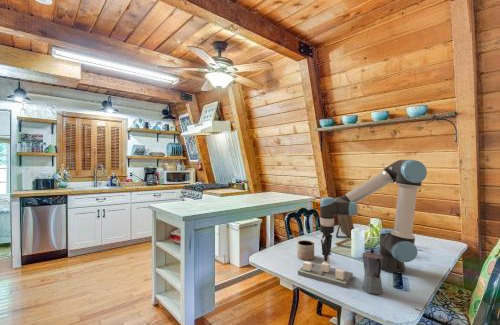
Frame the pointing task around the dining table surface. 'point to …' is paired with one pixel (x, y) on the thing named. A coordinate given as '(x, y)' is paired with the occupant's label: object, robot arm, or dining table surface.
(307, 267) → the block
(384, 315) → the dining table surface
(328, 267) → the block
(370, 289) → the moka pot
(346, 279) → the switch board
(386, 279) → the dining table surface
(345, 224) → the photo frame
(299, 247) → the planter
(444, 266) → the dining table surface
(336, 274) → the block
